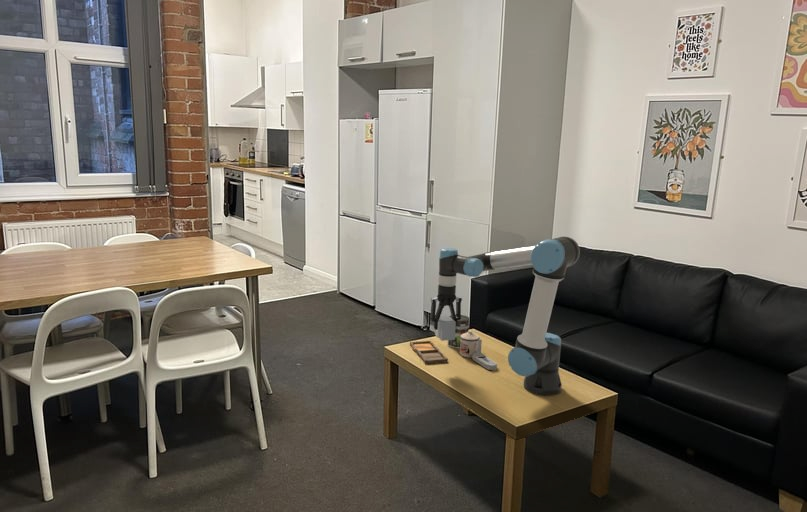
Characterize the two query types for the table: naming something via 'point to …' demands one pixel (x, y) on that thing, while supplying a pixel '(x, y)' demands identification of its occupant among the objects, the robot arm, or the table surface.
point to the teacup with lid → (468, 344)
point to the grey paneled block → (446, 328)
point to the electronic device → (483, 358)
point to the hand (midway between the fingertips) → (444, 335)
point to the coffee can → (459, 331)
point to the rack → (428, 352)
